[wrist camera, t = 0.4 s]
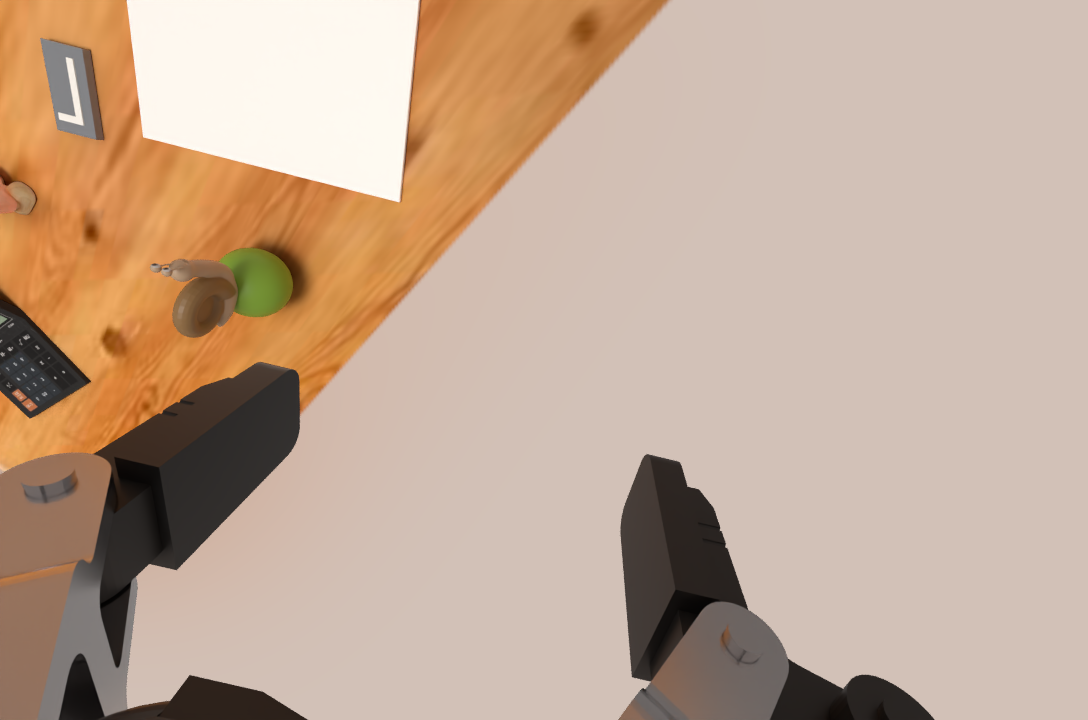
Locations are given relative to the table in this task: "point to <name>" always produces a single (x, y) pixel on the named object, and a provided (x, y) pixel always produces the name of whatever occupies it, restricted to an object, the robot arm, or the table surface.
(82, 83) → the letter card
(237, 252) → the snail figurine
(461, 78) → the table surface
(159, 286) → the table surface
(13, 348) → the calculator
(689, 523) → the robot arm
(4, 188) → the grandmother figurine
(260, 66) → the paper
